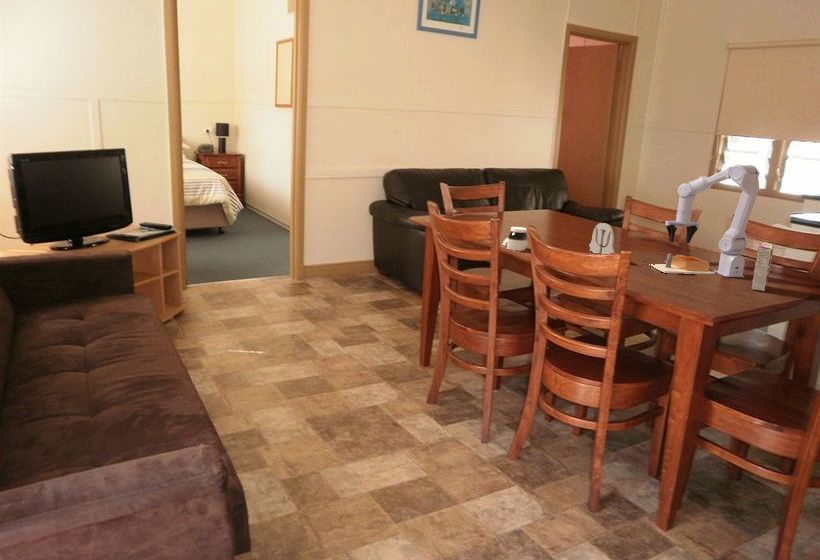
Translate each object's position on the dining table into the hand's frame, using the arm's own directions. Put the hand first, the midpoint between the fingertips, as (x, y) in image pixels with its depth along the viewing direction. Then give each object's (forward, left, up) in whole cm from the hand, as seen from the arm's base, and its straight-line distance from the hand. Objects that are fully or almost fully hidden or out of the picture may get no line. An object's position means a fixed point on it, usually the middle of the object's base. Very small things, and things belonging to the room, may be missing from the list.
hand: (679, 242), depth 273 cm
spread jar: (+10, +71, -10) cm, 73 cm away
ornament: (-2, +42, -10) cm, 43 cm away
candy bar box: (-42, -10, -10) cm, 44 cm away
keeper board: (-13, +7, -9) cm, 18 cm away
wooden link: (-14, +2, -8) cm, 17 cm away
